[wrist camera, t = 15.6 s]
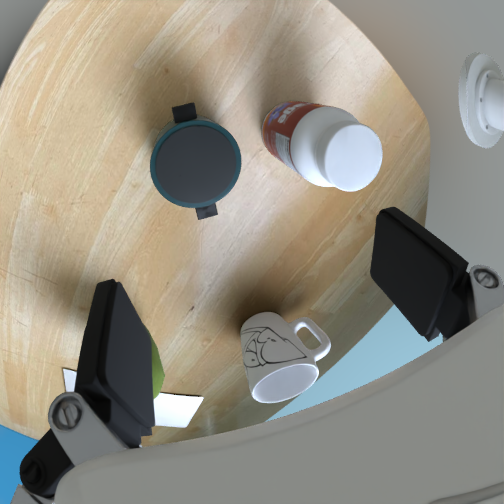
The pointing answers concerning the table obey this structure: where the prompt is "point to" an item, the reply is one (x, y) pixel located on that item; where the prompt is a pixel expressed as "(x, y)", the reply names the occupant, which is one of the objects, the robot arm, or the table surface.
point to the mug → (279, 356)
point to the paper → (159, 405)
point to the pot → (194, 161)
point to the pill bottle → (323, 144)
